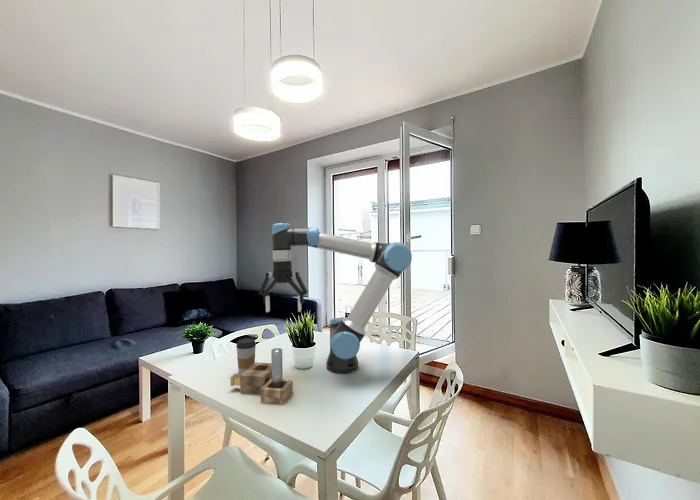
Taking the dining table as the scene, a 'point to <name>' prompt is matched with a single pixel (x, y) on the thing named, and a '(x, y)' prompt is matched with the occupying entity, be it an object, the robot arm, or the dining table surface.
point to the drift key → (236, 380)
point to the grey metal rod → (277, 368)
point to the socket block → (255, 378)
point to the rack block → (276, 392)
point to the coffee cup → (245, 354)
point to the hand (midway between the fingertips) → (283, 311)
